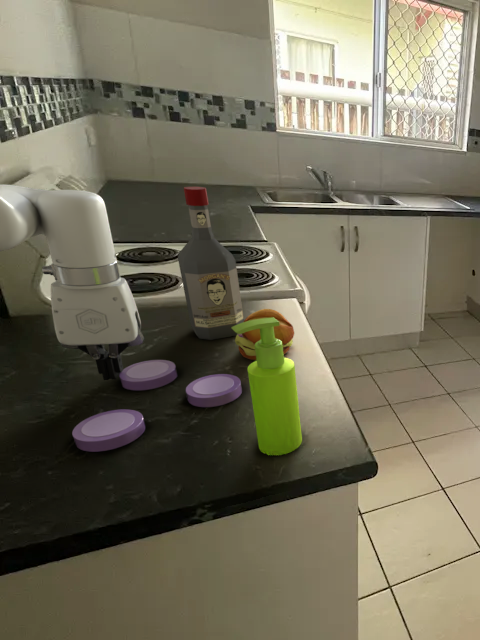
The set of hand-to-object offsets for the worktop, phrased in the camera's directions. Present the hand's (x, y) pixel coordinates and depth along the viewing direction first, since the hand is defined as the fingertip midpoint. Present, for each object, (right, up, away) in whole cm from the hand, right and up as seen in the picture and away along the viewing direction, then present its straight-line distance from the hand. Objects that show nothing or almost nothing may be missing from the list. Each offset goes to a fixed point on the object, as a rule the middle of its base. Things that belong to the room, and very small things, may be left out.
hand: (112, 376), depth 81 cm
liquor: (+5, +8, +22) cm, 24 cm away
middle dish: (+18, -3, 0) cm, 18 cm away
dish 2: (+5, -1, +2) cm, 5 cm away
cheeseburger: (+19, +3, +15) cm, 25 cm away
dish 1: (+10, -8, -12) cm, 17 cm away
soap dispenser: (+33, -10, -10) cm, 36 cm away
